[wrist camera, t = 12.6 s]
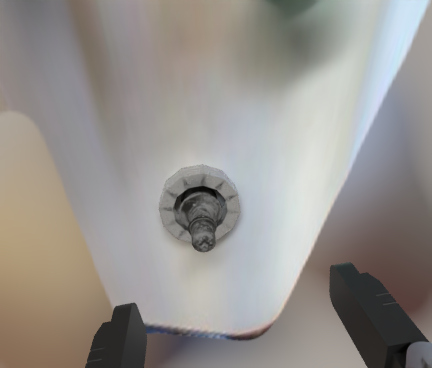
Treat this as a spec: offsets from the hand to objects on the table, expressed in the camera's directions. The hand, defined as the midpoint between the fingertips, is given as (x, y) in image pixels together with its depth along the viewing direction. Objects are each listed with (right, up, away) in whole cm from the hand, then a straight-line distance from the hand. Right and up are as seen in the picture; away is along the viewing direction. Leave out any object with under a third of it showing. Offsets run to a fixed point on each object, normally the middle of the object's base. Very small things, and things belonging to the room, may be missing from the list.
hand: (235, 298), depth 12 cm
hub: (-3, +2, +32) cm, 32 cm away
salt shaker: (-3, +2, +32) cm, 33 cm away
